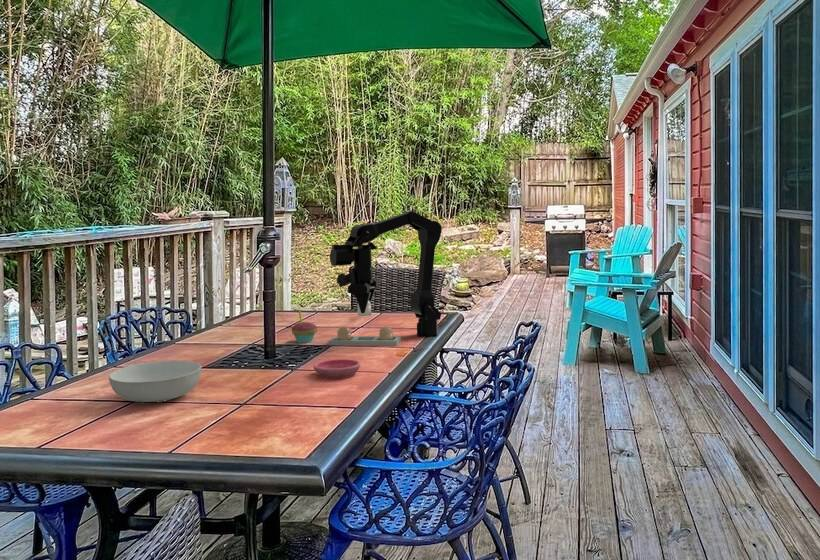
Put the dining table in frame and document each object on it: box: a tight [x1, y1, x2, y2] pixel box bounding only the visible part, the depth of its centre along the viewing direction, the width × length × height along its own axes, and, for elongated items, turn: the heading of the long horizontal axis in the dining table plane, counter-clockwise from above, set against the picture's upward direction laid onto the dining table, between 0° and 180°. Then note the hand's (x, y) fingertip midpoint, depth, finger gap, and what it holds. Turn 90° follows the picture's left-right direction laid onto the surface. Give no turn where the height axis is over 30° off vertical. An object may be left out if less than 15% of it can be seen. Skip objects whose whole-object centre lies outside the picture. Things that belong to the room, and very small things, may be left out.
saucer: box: [313, 358, 361, 380], centre depth 183 cm, size 12×12×3 cm
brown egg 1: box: [336, 326, 352, 340], centre depth 223 cm, size 4×4×5 cm
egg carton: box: [327, 335, 402, 347], centre depth 222 cm, size 22×8×2 cm, turn 81°
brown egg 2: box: [378, 325, 394, 340], centre depth 221 cm, size 4×4×5 cm
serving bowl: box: [108, 360, 202, 403], centre depth 164 cm, size 21×21×7 cm
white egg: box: [357, 300, 372, 317], centre depth 221 cm, size 4×4×5 cm
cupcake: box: [290, 307, 318, 344], centre depth 227 cm, size 9×8×12 cm
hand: (364, 311), depth 221 cm, fingers closed on white egg, 4 cm apart
